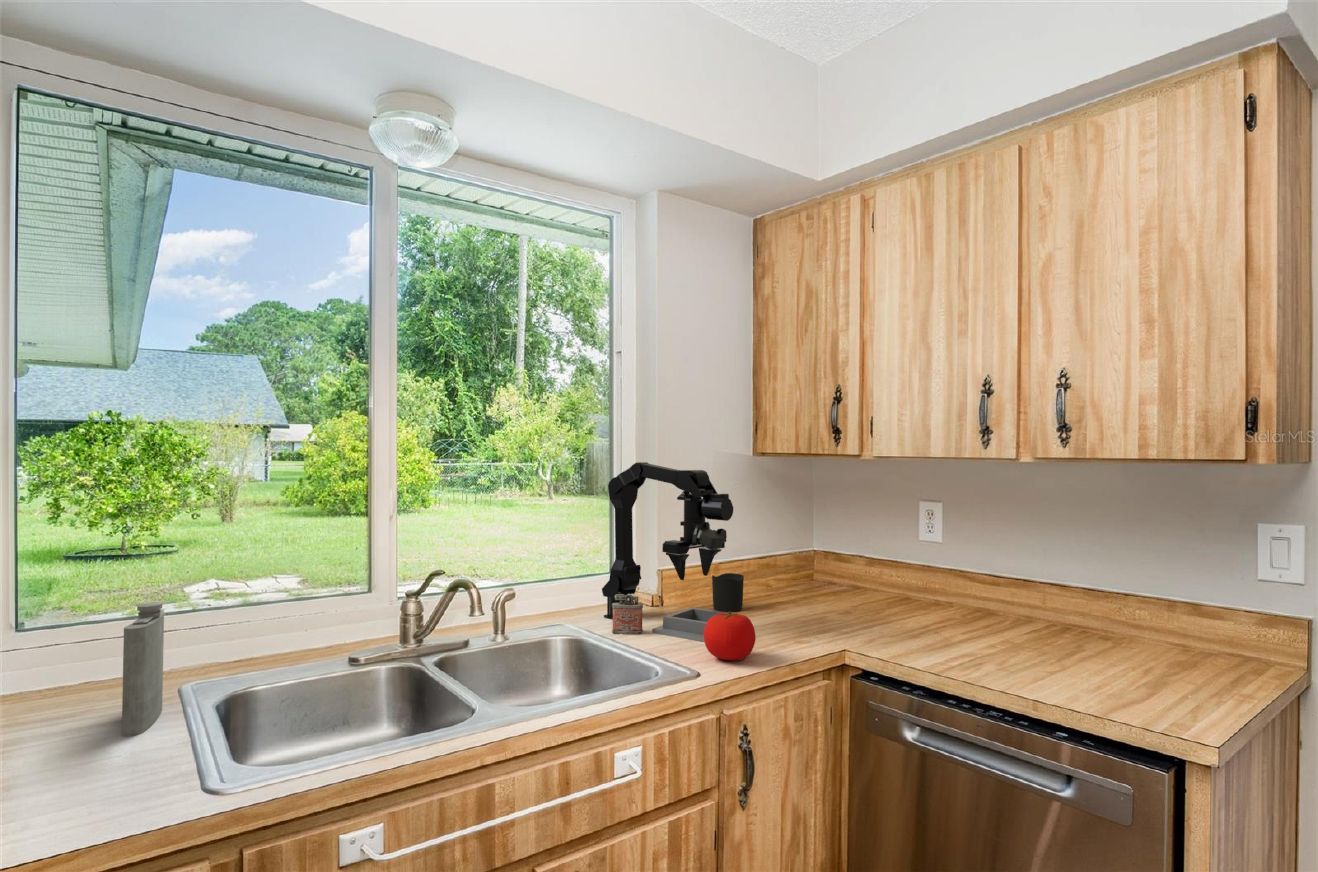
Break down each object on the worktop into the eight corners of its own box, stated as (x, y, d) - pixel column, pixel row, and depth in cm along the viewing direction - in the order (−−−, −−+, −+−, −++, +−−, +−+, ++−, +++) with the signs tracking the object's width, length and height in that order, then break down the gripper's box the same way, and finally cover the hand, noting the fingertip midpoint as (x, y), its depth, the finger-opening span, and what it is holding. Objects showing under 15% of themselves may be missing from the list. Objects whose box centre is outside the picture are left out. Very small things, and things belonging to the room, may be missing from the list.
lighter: (643, 631, 186) (643, 593, 186) (642, 635, 183) (642, 595, 183) (613, 631, 187) (613, 592, 187) (610, 634, 183) (611, 595, 184)
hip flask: (143, 706, 131) (145, 596, 131) (169, 702, 132) (171, 594, 133) (119, 737, 116) (121, 614, 117) (149, 733, 118) (151, 611, 119)
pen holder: (745, 612, 209) (745, 578, 209) (713, 612, 209) (713, 578, 209) (741, 605, 218) (741, 573, 218) (711, 605, 218) (711, 572, 218)
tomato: (761, 654, 165) (761, 608, 165) (745, 669, 154) (744, 620, 154) (715, 649, 170) (715, 604, 170) (696, 662, 159) (696, 615, 159)
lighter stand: (652, 632, 185) (652, 617, 185) (689, 619, 200) (689, 605, 200) (712, 643, 175) (712, 626, 175) (746, 628, 190) (746, 613, 190)
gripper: (693, 522, 175) (693, 586, 175) (741, 518, 188) (740, 577, 188) (661, 519, 183) (660, 580, 182) (708, 515, 196) (708, 572, 196)
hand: (693, 577), depth 187 cm, fingers open, 9 cm apart
